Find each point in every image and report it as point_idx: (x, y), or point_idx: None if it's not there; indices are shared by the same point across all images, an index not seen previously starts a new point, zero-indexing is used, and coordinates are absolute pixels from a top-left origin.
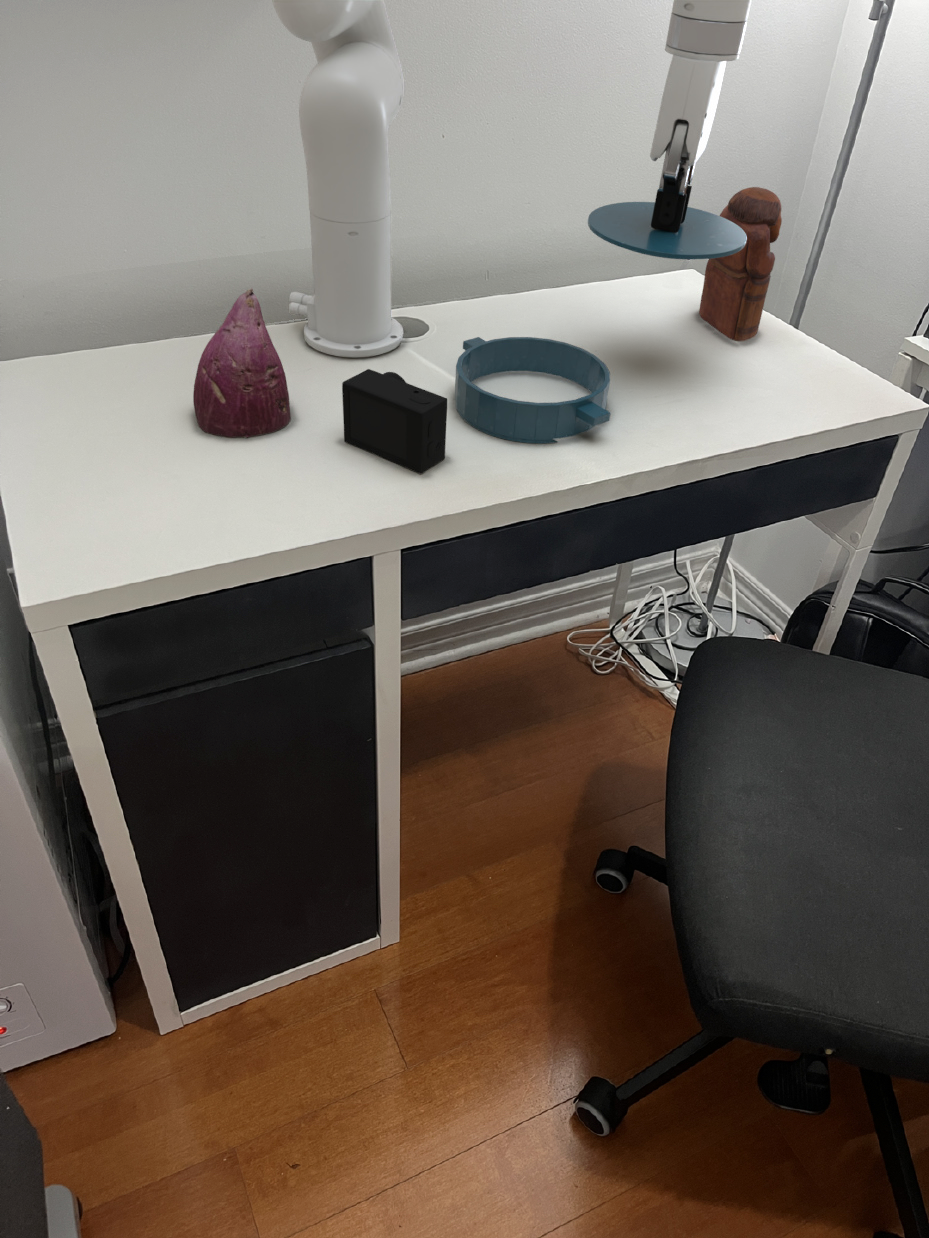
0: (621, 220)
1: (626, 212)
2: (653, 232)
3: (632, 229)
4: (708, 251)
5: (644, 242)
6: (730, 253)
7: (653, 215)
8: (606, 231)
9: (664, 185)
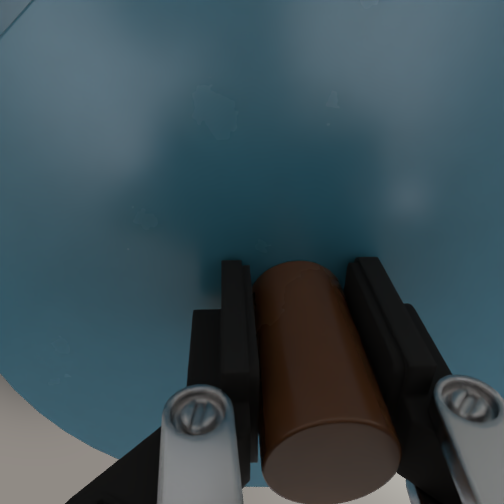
0: (272, 110)
1: (425, 102)
2: (184, 272)
3: (164, 189)
4: (109, 437)
5: (29, 268)
6: None
7: (222, 289)
8: (41, 78)
9: (121, 463)
